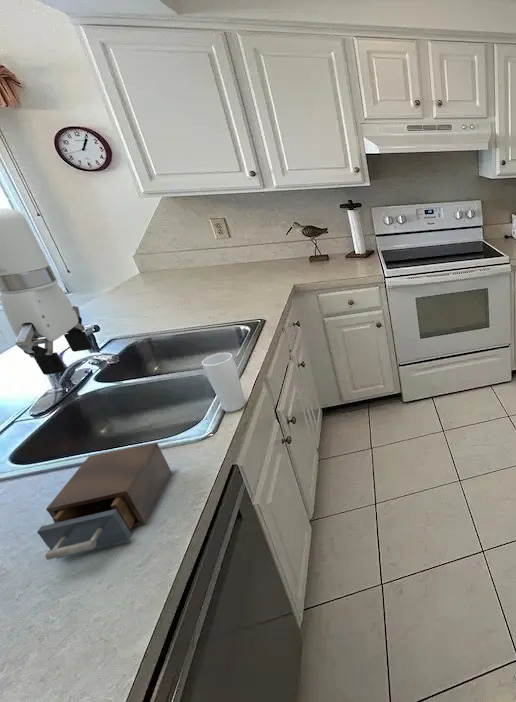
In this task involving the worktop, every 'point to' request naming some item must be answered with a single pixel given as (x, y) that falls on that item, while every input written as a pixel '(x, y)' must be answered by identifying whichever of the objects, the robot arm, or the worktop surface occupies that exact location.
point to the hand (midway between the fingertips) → (69, 360)
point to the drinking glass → (224, 380)
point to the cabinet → (118, 480)
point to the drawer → (88, 527)
